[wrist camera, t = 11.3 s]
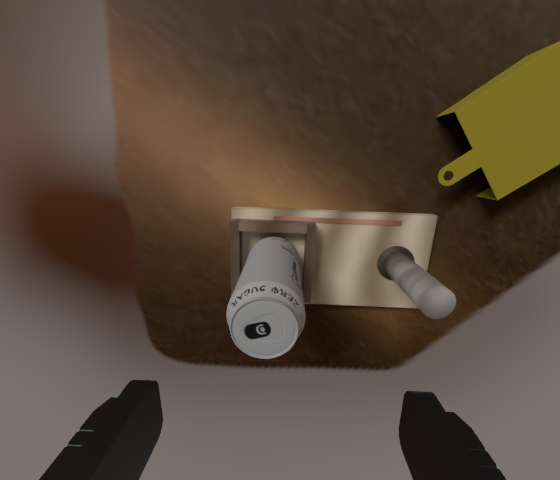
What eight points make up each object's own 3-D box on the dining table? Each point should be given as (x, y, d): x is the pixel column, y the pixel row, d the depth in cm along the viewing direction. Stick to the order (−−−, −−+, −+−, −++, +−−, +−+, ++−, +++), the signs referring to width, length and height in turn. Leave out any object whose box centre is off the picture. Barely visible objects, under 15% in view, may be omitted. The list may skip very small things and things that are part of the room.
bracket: (421, 108, 24) (602, -17, 21) (389, 120, 31) (519, 30, 28) (494, 251, 27) (659, 160, 24) (449, 231, 34) (571, 160, 32)
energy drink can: (303, 274, 34) (316, 356, 20) (257, 286, 35) (236, 373, 20) (291, 229, 33) (295, 281, 18) (243, 241, 33) (209, 301, 19)
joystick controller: (432, 214, 33) (502, 239, 22) (415, 303, 36) (469, 363, 26) (233, 206, 34) (207, 228, 23) (234, 296, 37) (212, 351, 26)
